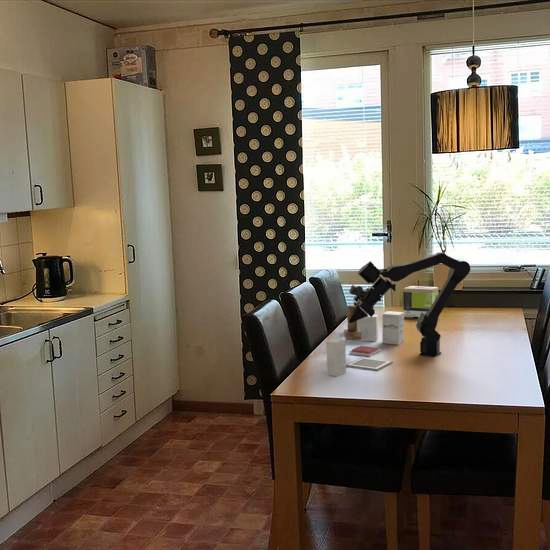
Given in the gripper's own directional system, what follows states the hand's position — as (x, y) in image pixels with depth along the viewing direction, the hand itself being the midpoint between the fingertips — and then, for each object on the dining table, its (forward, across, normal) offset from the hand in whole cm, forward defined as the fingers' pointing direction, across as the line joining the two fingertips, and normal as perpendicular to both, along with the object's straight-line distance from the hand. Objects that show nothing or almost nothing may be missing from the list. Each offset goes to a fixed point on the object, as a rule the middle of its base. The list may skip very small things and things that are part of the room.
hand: (348, 321), depth 265 cm
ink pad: (+5, -5, +14) cm, 16 cm away
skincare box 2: (+3, -29, +17) cm, 34 cm away
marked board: (+6, +13, +14) cm, 20 cm away
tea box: (-22, -77, +42) cm, 90 cm away
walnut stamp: (+4, 0, +6) cm, 7 cm away
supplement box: (-5, -22, +25) cm, 33 cm away
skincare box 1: (+15, +24, +4) cm, 29 cm away
